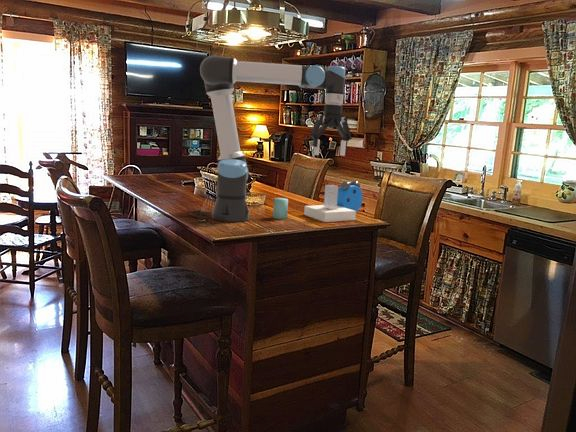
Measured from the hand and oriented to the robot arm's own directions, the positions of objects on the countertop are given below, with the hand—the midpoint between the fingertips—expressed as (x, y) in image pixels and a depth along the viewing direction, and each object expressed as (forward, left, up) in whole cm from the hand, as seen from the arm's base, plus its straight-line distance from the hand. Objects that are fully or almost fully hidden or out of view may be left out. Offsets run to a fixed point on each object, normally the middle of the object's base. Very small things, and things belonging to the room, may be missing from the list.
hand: (329, 155), depth 212 cm
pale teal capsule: (-21, +3, -27) cm, 34 cm away
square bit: (+1, -2, -27) cm, 27 cm away
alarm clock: (+16, +4, -27) cm, 32 cm away
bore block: (+1, -2, -27) cm, 27 cm away
